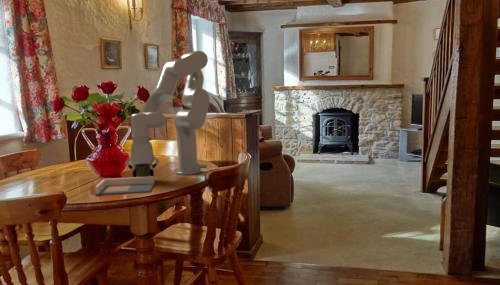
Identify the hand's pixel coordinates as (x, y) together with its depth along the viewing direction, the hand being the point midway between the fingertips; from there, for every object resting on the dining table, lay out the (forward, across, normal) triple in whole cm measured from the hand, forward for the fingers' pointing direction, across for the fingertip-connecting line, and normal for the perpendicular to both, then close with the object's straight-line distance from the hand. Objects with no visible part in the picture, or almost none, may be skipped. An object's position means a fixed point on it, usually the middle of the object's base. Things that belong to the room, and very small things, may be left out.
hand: (143, 177), depth 202 cm
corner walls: (+1, +5, +16) cm, 17 cm away
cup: (+2, 0, 0) cm, 2 cm away
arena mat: (+1, +5, +16) cm, 17 cm away
